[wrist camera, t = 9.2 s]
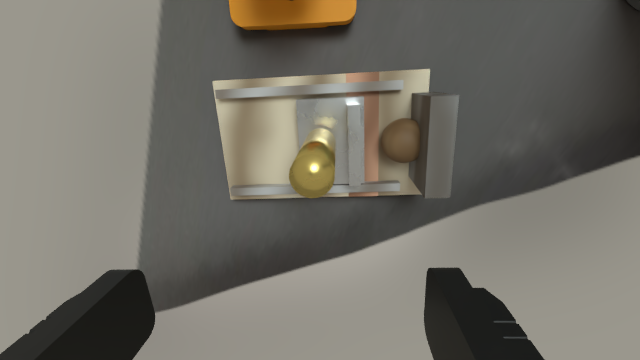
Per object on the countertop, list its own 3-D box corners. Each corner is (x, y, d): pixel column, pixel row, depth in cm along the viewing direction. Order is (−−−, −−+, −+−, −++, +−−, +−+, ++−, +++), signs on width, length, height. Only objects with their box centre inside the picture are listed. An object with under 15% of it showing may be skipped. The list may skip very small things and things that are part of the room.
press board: (429, 69, 29) (461, 65, 21) (422, 187, 33) (448, 220, 25) (220, 80, 30) (180, 81, 23) (236, 192, 34) (207, 225, 26)
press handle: (362, 95, 28) (378, 106, 17) (363, 178, 30) (377, 234, 19) (297, 98, 28) (272, 111, 17) (303, 180, 31) (285, 235, 20)
